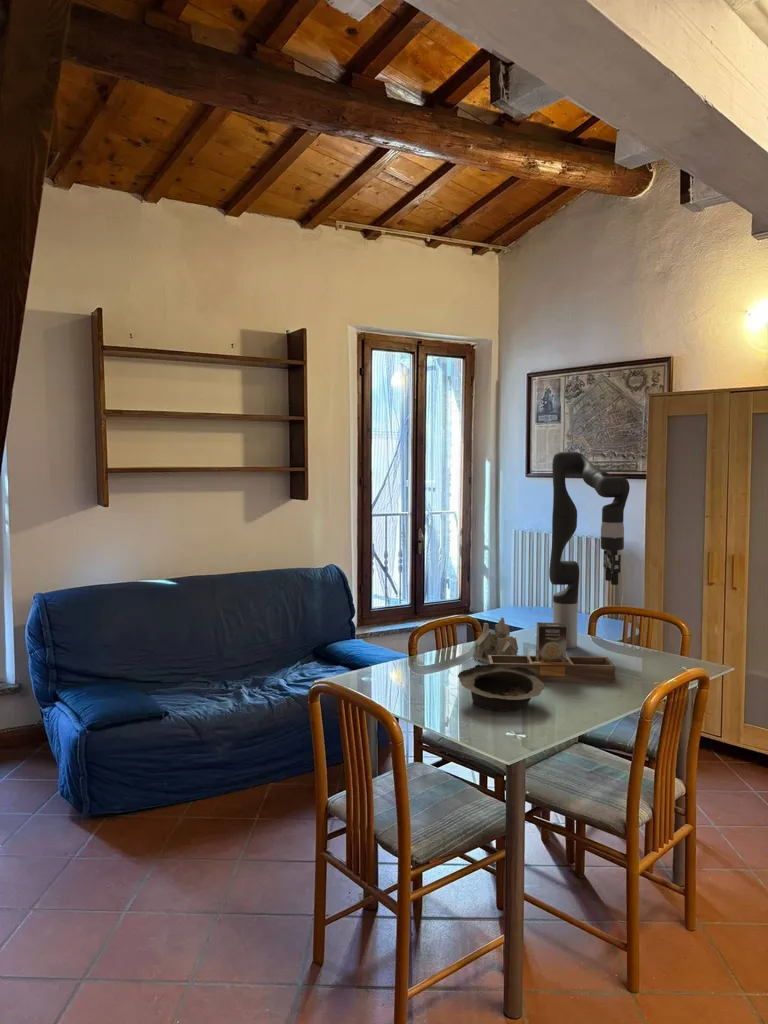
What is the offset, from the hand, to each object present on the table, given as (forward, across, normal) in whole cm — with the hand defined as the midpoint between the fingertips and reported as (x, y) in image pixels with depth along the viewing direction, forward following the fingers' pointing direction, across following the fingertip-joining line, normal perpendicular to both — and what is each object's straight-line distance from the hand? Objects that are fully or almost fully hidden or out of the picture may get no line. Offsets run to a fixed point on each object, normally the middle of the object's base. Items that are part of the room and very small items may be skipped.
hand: (611, 582), depth 248 cm
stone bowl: (+30, +39, -40) cm, 64 cm away
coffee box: (+29, +10, -22) cm, 37 cm away
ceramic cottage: (+30, -10, -38) cm, 50 cm away
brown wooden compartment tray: (+30, +10, -22) cm, 39 cm away
